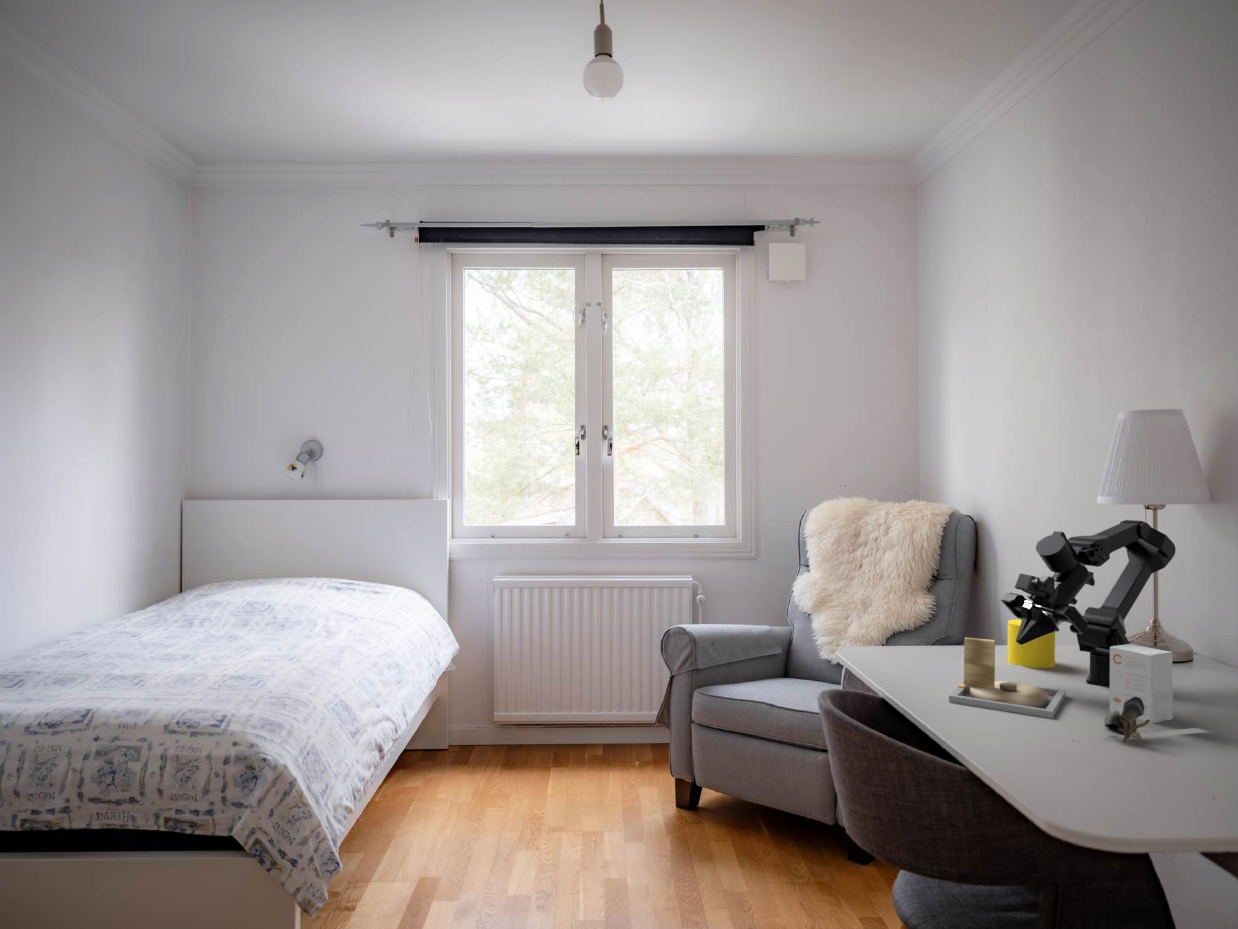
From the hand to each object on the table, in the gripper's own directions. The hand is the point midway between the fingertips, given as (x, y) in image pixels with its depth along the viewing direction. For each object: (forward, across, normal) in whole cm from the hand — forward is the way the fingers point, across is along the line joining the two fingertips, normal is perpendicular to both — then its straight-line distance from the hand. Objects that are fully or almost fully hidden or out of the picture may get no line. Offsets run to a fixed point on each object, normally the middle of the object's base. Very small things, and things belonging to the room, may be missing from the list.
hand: (1018, 643), depth 173 cm
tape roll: (-8, -22, +23) cm, 33 cm away
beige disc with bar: (+11, +5, +2) cm, 13 cm away
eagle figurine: (+8, +27, +7) cm, 29 cm away
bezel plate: (+12, +5, +3) cm, 13 cm away
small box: (+1, +20, +14) cm, 25 cm away
